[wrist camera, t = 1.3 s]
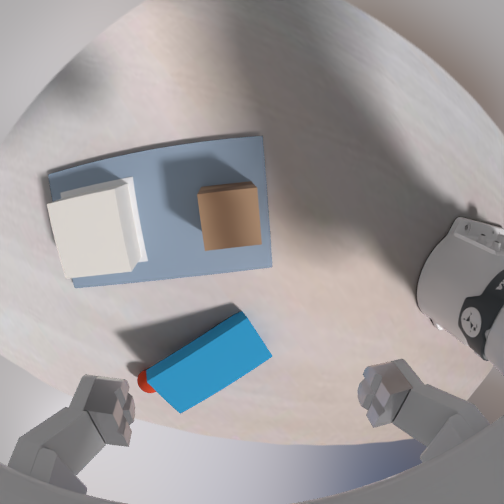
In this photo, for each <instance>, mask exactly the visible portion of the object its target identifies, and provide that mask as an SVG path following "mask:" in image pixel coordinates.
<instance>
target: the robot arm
mask: <svg viewBox="0 0 504 504" xmlns="http://www.w3.org/2000/svg"><path fill="white" fill-rule="evenodd" d="M417 301H418V306H419V308H420V310H421V312H422V313H423V314H424V315H426V316H427V317H429V318H431V319H432V321H433V324H434V326H435V327H436V328H437V329H438V330H443V329H444V330H446V331H447V332H448V333H450V334H451V335H452V336H454V337H455V338H456V339H458V340H459V341H460V342H462V343H463V344H464V345H469V346H470V347H471V348H472V349H473V350H474V351H475V353H476V354H477V355H478V356H479V357H481V358H482V359H483V360H486V361H490V362H491V363H492V364H493V365H494V366H495V367H496V368H497V369H498V370H499V371H500V372H501V373H502V375H503V376H504V229H503V228H501V227H498V226H494V225H490V224H486V223H483V222H479V221H475V220H471V219H467V218H463V217H458V218H457V219H456V220H455V221H454V223H453V225H452V227H451V229H450V231H449V233H448V234H447V236H446V237H445V238H444V239H443V240H442V241H441V242H440V243H439V244H438V245H437V246H436V247H435V248H434V250H433V251H432V253H431V254H430V256H429V257H428V259H427V261H426V263H425V265H424V267H423V269H422V272H421V275H420V278H419V282H418V288H417ZM363 375H364V377H365V379H364V380H363V381H362V382H361V383H360V384H359V387H358V399H359V402H360V404H361V406H362V407H364V408H365V409H367V410H368V411H367V414H366V415H367V417H368V419H369V421H370V423H371V425H372V426H373V428H374V427H378V426H382V425H385V424H389V423H392V422H393V423H392V424H394V425H395V426H397V427H398V428H400V429H401V430H403V431H404V432H406V433H407V434H409V435H410V436H412V437H413V438H415V439H416V440H418V441H419V442H421V443H422V444H424V445H426V446H427V448H426V449H425V451H424V452H423V453H422V454H421V456H420V459H421V461H422V464H420V465H418V466H415V467H413V468H411V469H408V470H406V471H404V472H401V473H399V474H396V475H394V476H391V477H389V478H386V479H383V480H380V481H378V482H375V483H372V484H369V485H366V486H363V487H360V488H356V489H353V490H350V491H346V492H343V493H339V494H335V495H331V496H327V497H323V498H319V499H313V500H309V501H303V502H298V503H292V504H504V415H503V416H501V417H500V418H499V419H498V420H496V421H495V422H493V423H492V424H490V423H489V422H488V421H487V419H486V418H485V417H484V416H483V414H482V413H481V412H480V411H479V410H478V408H477V407H476V406H475V405H474V404H472V403H470V402H468V401H465V400H463V399H461V398H458V397H456V396H454V395H451V394H449V393H447V392H445V391H442V390H440V389H438V388H435V387H433V386H431V385H429V384H426V385H424V383H423V382H422V381H421V380H420V378H419V377H418V376H417V375H416V373H415V372H414V371H413V370H412V368H411V367H410V366H409V365H408V364H407V362H406V361H405V360H403V359H398V360H394V361H391V362H386V363H381V364H377V365H372V366H368V367H367V368H366V369H365V370H364V373H363ZM128 391H129V385H128V382H127V380H125V379H117V378H109V377H102V376H93V375H87V374H85V375H84V376H83V377H82V378H81V381H80V383H79V385H78V387H77V390H76V392H75V394H74V397H73V399H72V401H71V404H70V406H69V408H67V407H65V408H63V409H62V410H60V411H59V412H57V413H56V414H54V415H53V416H51V417H50V418H48V419H47V420H45V421H44V422H43V423H41V424H39V425H38V426H36V427H35V428H33V429H32V430H30V431H29V432H27V433H26V434H24V435H23V436H21V437H20V438H19V439H18V442H17V444H16V447H15V449H14V451H13V454H12V456H11V458H10V461H9V463H8V466H6V465H4V464H2V463H0V504H126V503H120V502H115V501H110V500H106V499H101V498H96V497H93V496H89V495H86V492H87V487H86V486H85V485H84V484H83V483H82V482H81V481H80V480H79V478H77V476H76V475H77V474H78V473H79V472H80V471H81V470H82V469H83V468H84V467H85V466H86V465H87V464H88V463H89V462H90V461H91V460H92V459H93V458H94V456H96V455H97V454H98V453H99V452H100V451H101V449H102V448H103V447H104V446H105V445H106V444H112V445H119V446H129V443H130V438H131V433H132V431H131V429H130V426H129V425H130V424H131V423H133V422H134V417H135V404H134V400H133V396H132V395H130V394H129V393H128Z"/></svg>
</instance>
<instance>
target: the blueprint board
mask: <svg viewBox="0 0 504 504" xmlns="http://www.w3.org/2000/svg"><path fill="white" fill-rule="evenodd" d="M48 176H49V183H50V189H51V195H52V201H53V202H54V201H56V200H59V199H61V198H64V197H67V196H71V195H75V194H80V193H84V192H89V191H93V190H98V189H102V188H107V187H112V186H117V185H122V184H128V186H129V193H130V199H131V205H132V211H133V216H134V222H135V227H136V232H137V237H138V242H139V247H140V252H141V256H142V257H141V258H140V260H139V261H138V263H137V264H136V266H135V267H134V269H133V270H132V272H123V273H114V274H105V275H96V276H86V277H77V278H72V280H73V284H74V287H75V288H83V287H94V286H105V285H115V284H125V283H135V282H145V281H155V280H165V279H174V278H183V277H192V276H201V275H210V274H219V273H228V272H236V271H245V270H253V269H261V268H270V267H272V254H271V239H270V225H269V211H268V197H267V184H266V172H265V159H264V147H263V136H253V137H241V138H230V139H221V140H212V141H204V142H196V143H189V144H182V145H175V146H169V147H163V148H157V149H152V150H146V151H141V152H136V153H131V154H126V155H121V156H117V157H112V158H108V159H104V160H100V161H95V162H91V163H88V164H84V165H80V166H76V167H73V168H69V169H65V170H62V171H58V172H55V173H52V174H49V175H48ZM249 181H252V183H253V184H254V185H255V186H256V187H257V191H258V203H259V215H260V227H261V240H262V244H261V245H252V246H244V247H235V248H226V249H218V250H209V251H205V248H204V242H203V235H202V228H201V220H200V213H199V205H198V197H197V194H198V192H199V190H200V188H201V187H204V186H212V185H221V184H229V183H239V182H249Z"/></svg>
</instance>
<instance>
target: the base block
mask: <svg viewBox="0 0 504 504" xmlns="http://www.w3.org/2000/svg"><path fill="white" fill-rule="evenodd" d="M47 208H48V213H49V217H50V222H51V226H52V231H53V235H54V239H55V243H56V247H57V251H58V254H59V258H60V261H61V265H62V268H63V271H64V275H65V278H66V279H68V278H77V277H86V276H96V275H105V274H114V273H123V272H132V270H133V269H134V267H135V266H136V264H137V263H138V261H139V260H140V258H141V257H142V256H141V252H140V247H139V242H138V237H137V232H136V227H135V222H134V216H133V211H132V205H131V199H130V193H129V186H128V184H122V185H117V186H112V187H107V188H102V189H98V190H93V191H89V192H84V193H80V194H75V195H71V196H67V197H64V198H61V199H59V200H56V201H54V202H51V203H49V204H47Z"/></svg>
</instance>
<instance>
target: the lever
mask: <svg viewBox="0 0 504 504" xmlns="http://www.w3.org/2000/svg"><path fill="white" fill-rule="evenodd" d="M271 357H272V355H271V353H270V352H269V350H268V349H267V347H266V346H265V344H264V343H263V341H262V339H261V338H260V336H259V335H258V333H257V332H256V330H255V329H254V327H253V326H252V324H251V323H250V321H249V319H248V318H247V317H246V316H245V314H244V313H243V312H242V311H241V312H238V313H236V314H234V315H232V316H231V317H229V318H228V319H226V320H225V321H223V322H222V323H220V324H219V325H217V326H216V327H214V328H213V329H211V330H209V331H208V332H206V333H205V334H203V335H202V336H200V337H199V338H197V339H195V340H194V341H192V342H191V343H189V344H188V345H186V346H184V347H183V348H181V349H180V350H178V351H176V352H175V353H173V354H172V355H170V356H168V357H167V358H165V359H164V360H162V361H160V362H159V363H157V364H155V365H154V366H152V367H150V368H149V369H147V370H144V371H142V372H141V373H140V374H139V376H138V379H137V381H138V385H139V387H140V388H141V389H142V390H143V391H144V392H147V393H154V392H158V393H159V394H160V395H161V396H162V397H163V398H164V399H165V400H166V401H167V402H168V403H169V404H170V405H171V406H172V407H173V408H175V409H176V410H177V411H178V412H179V413H182V412H184V411H186V410H188V409H189V408H191V407H193V406H195V405H196V404H198V403H200V402H202V401H203V400H205V399H207V398H208V397H210V396H212V395H213V394H215V393H217V392H218V391H220V390H222V389H223V388H225V387H226V386H228V385H230V384H231V383H233V382H234V381H236V380H238V379H239V378H241V377H242V376H244V375H245V374H247V373H248V372H250V371H251V370H253V369H254V368H256V367H257V366H259V365H260V364H262V363H263V362H265V361H266V360H268V359H269V358H271Z"/></svg>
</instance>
